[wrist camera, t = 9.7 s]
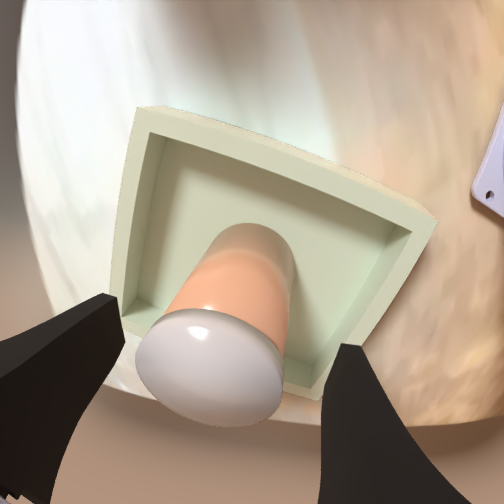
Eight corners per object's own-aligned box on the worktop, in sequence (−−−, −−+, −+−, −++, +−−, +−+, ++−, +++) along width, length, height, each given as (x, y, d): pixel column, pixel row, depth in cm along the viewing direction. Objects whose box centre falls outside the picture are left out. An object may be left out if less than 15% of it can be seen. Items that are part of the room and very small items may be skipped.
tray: (419, 202, 12) (438, 221, 10) (318, 369, 17) (317, 401, 15) (163, 105, 12) (137, 107, 10) (128, 297, 17) (108, 321, 15)
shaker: (304, 229, 13) (295, 347, 7) (288, 308, 15) (269, 437, 9) (208, 213, 14) (125, 310, 7) (205, 293, 16) (145, 406, 9)
